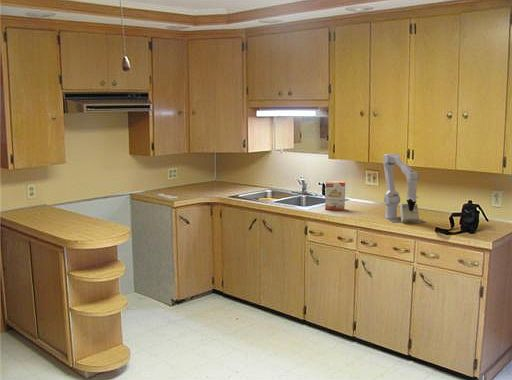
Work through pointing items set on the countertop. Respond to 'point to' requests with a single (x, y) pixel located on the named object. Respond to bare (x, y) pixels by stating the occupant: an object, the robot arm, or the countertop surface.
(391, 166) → the robot arm
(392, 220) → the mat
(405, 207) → the light bulb box
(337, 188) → the cracker box
